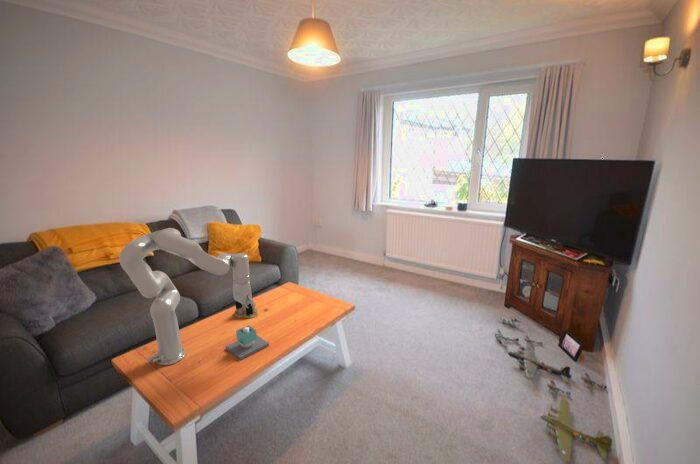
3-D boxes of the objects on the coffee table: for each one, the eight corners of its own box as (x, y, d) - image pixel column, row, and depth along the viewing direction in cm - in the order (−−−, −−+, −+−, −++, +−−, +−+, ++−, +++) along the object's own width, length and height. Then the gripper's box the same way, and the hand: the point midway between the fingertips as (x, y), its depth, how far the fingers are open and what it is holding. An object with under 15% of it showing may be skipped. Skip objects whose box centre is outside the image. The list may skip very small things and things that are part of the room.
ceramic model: (259, 309, 200) (258, 294, 198) (257, 318, 189) (256, 302, 187) (236, 311, 198) (235, 296, 196) (232, 320, 187) (231, 304, 185)
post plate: (240, 360, 150) (238, 340, 147) (225, 348, 159) (224, 330, 156) (268, 345, 162) (267, 327, 159) (254, 335, 171) (252, 318, 168)
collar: (244, 344, 154) (243, 335, 153) (236, 339, 159) (236, 330, 158) (256, 338, 159) (256, 330, 158) (249, 333, 164) (248, 325, 163)
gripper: (225, 276, 154) (228, 308, 158) (244, 286, 143) (246, 320, 147) (239, 272, 160) (242, 303, 164) (258, 281, 149) (260, 314, 153)
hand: (244, 311), depth 156 cm, fingers open, 9 cm apart
